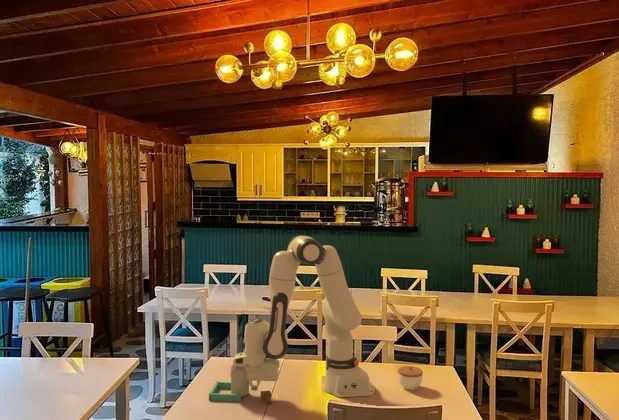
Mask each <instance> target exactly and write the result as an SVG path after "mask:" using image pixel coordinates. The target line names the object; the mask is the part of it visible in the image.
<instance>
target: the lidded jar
mask: <svg viewBox="0 0 619 420" xmlns="http://www.w3.org/2000/svg"><path fill="white" fill-rule="evenodd" d="M423 373H424V371H423V370H422V369H421V368H419V367H417V366H411V365H405V366H399V367H398V369H397V377H398V382H399V384H400V385H401V387H402V389H404V390H407V391H415V390H417V389H418V388H419V387H420V385H421V384H422V382H423Z"/></svg>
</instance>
